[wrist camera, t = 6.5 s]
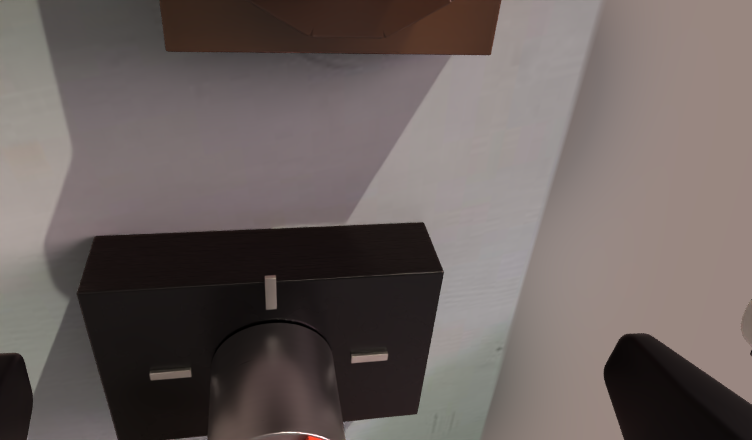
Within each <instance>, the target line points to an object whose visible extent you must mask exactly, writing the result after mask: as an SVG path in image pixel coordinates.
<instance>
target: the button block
mask: <svg viewBox="0 0 752 440" xmlns="http://www.w3.org/2000/svg"><path fill="white" fill-rule="evenodd" d="M159 1H160V9H161V17H162V25H163V33H164V40H165V48H166V51H168V52H256V53H345V54H434V55H491V51H492V46H493V40H494V35H495V30H496V25H497V20H498V15H499V9H500V4H501V0H159Z"/></svg>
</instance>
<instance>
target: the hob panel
mask: <svg viewBox="0 0 752 440" xmlns="http://www.w3.org/2000/svg"><path fill="white" fill-rule="evenodd" d="M443 274H444V271H443V269H442V266H441V264H440V261H439V259H438V256H437V254H436V251H435V249H434V246H433V244H432V242H431V239H430V237H429V234H428V232H427V229H426V227H425V224H424V223H423V222H421V223H397V224H374V225H350V226H327V227H303V228H280V229H256V230H233V231H209V232H186V233H162V234H139V235H115V236H96V237H94V240H93V243H92V247H91V250H90V253H89V256H88V259H87V262H86V266H85V269H84V272H83V275H82V278H81V281H80V285H79V288H78V291H77V297H78V300H79V304H80V308H81V311H82V315H83V318H84V322H85V325H86V329H87V332H88V336H89V339H90V343H91V346H92V350H93V354H94V357H95V361H96V364H97V368H98V371H99V375H100V378H101V382H102V385H103V389H104V392H105V396H106V399H107V403H108V407H109V410H110V414H111V417H112V421H113V424H114V428H115V431H116V435H117V438H118V440H171V439H181V438H190V437H200V436H208V420H209V400H210V381H211V364H212V359H213V357H214V355H215V353H216V351H217V350H218V348H219V347H220V346H221V345H222V344H223V343H224V342H225V341H226V340H227V339H228V338H230V337H231V336H232V335H234V334H236V333H238V332H239V331H241V330H244V329H246V328H249V327H252V326H256V325H260V324H266V323H290V324H296V325H300V326H303V327H306V328H308V329H311V330H312V331H314V332H316V333H317V334H319V335H320V336H321V337H322V338H323V339H324V340H325V341H326V342H327V344H328V345H329V347H330V349H331V351H332V356H333V362H334V369H335V375H336V382H337V388H338V395H339V401H340V407H341V414H342V420H343V422H345V421H355V420H364V419H374V418H384V417H393V416H403V415H413V414H417V412H418V407H419V402H420V396H421V391H422V386H423V380H424V375H425V370H426V364H427V359H428V354H429V348H430V343H431V338H432V332H433V327H434V322H435V316H436V311H437V306H438V301H439V295H440V290H441V285H442V279H443Z"/></svg>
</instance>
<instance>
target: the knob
mask: <svg viewBox="0 0 752 440" xmlns="http://www.w3.org/2000/svg"><path fill="white" fill-rule="evenodd" d="M208 440H345V433H344V427H343V420H342V414H341V407H340V401H339V395H338V388H337V382H336V375H335V369H334V362H333V356H332V351H331V349H330V347H329V345H328V344H327V342H326V341H325V340H324V339H323V338H322V337H321V336H320V335H319V334H317V333H316V332H314V331H312V330H311V329H308V328H306V327H303V326H300V325H296V324H290V323H266V324H260V325H256V326H252V327H249V328H246V329H244V330H241V331H239V332H238V333H236V334H234V335H232V336H231V337H230V338H228V339H227V340H226V341H225V342H224V343H223V344H222V345H221V346H220V347H219V348H218V350H217V351H216V353H215V355H214V357H213V359H212V364H211V381H210V400H209V420H208Z"/></svg>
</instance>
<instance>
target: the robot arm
mask: <svg viewBox="0 0 752 440" xmlns="http://www.w3.org/2000/svg"><path fill="white" fill-rule="evenodd" d="M750 355H751V356H752V351H751V353H750ZM604 380H605V384H606V387H607V390H608V393H609V395H610V399H611V402H612V405H613V407H614V411H615V413H616V417H617V419H618V422H619V425H620V429H621V432H622V435H623V437H624V440H752V404H750V403H749V402H747V401H746V400H744V399H743V398H741V397H740V396H738V395H737V394H735V393H734V392H733V391H731V390H730V389H728V388H727V387H725V386H724V385H722V384H721V383H720V382H718V381H717V380H715V379H714V378H712V377H711V376H709V375H708V374H706V373H705V372H704V371H702V370H701V369H699V368H698V367H696V366H695V365H693V364H692V363H690V362H689V361H688V360H686V359H684V358H683V357H682V356H680V355H679V354H677V353H676V352H674V351H673V350H672V349H670V348H669V347H667V346H666V345H664V344H663V343H661V342H660V341H658V340H657V339H655V338H654V337H652V336H651V335H649V334H644V333H643V334H642V333H641V334H640V333H638V334H626V335H624V336H622V337H621V338H620V339H619V341H618V343H617V345H616V346H615V348H614V350H613V352H612V354H611V355H610V357H609V359H608V361H607V363H606V365H605V367H604ZM32 408H33V393H32V389H31V385H30V381H29V377H28V373H27V369H26V365H25V362H24V359H23V357H22V356H21V355H20V354H18V353H0V440H27V435H28V429H29V424H30V419H31V414H32Z"/></svg>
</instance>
